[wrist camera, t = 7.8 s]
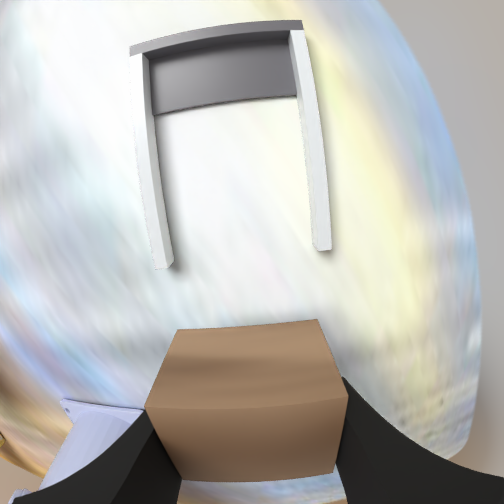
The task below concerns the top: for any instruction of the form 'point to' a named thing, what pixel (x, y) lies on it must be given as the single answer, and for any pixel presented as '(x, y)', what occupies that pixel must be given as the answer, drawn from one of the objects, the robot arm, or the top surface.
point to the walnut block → (249, 403)
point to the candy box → (1, 440)
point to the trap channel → (218, 91)
